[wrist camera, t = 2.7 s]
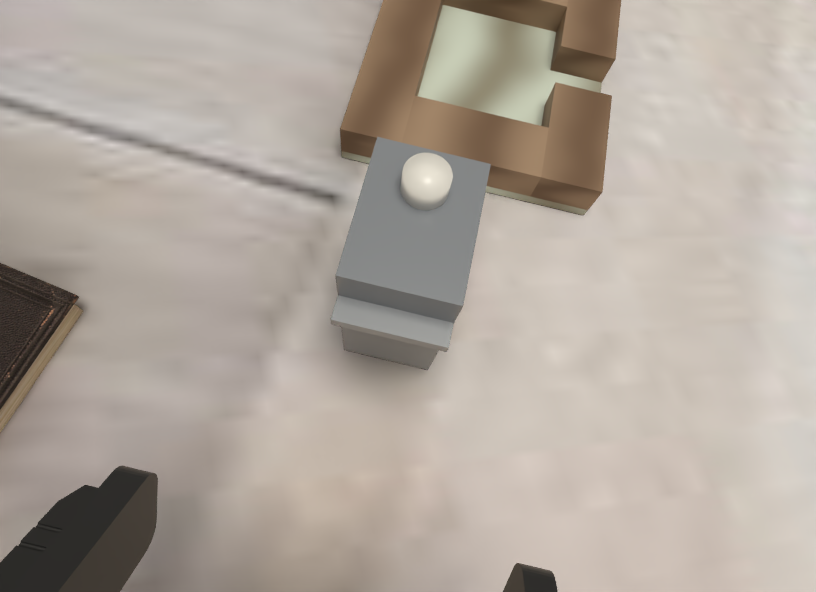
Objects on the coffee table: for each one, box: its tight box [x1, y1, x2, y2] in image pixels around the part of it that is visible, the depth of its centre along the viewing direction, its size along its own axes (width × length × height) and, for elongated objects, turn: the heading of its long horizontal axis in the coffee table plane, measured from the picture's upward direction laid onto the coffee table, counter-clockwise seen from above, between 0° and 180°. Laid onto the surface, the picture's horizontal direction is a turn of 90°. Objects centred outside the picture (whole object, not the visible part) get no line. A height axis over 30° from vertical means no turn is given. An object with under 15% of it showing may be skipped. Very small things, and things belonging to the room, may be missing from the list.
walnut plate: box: [340, 0, 621, 215], centre depth 33 cm, size 15×17×3 cm
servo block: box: [331, 137, 491, 370], centre depth 23 cm, size 4×8×11 cm, turn 167°
